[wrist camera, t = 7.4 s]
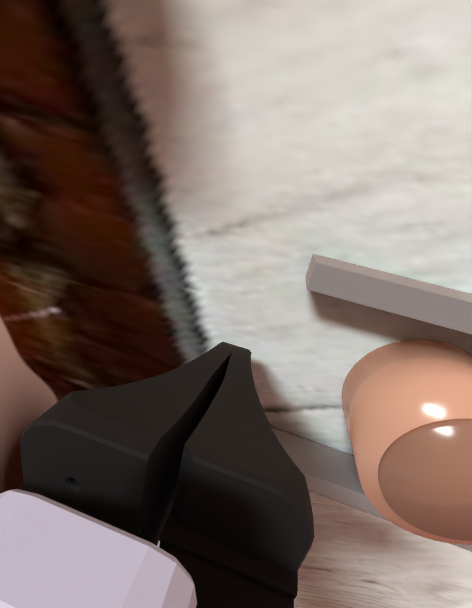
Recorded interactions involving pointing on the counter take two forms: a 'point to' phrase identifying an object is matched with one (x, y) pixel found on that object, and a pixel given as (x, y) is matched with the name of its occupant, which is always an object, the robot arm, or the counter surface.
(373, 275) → the holder
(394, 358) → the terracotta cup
